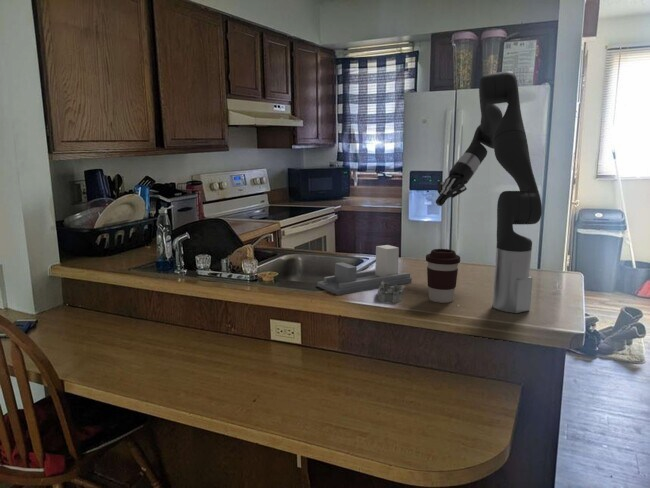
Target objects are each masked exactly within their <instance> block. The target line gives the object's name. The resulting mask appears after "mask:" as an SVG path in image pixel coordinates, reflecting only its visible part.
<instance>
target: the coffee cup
mask: <svg viewBox="0 0 650 488" xmlns="http://www.w3.org/2000/svg"><path fill="white" fill-rule="evenodd" d="M425 261H426V262H427V267H426V271H427V272H426V273H427V274H426V275H427V287H428V299H429V300H430V301H431V302H434V303H440V304H441V303H442V304H446V303H452V302H453V301H454V297H455V290H456V289H455V288H456V287H457V281H458V272H459V268H458V265H459V263H460V262H461V256H460V255H458V254H457V253H456V251H455V250H453V249H448V248H435V249H432V250H431V251H430V253H426V255H425Z"/></svg>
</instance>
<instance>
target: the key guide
mask: <svg viewBox="0 0 650 488" xmlns="http://www.w3.org/2000/svg"><path fill="white" fill-rule="evenodd" d="M375 271H376V269H371V270H364V271H358V272H357V273H356V281H352V282H344V283H338V282H336V281H335V275H331V276H330V275H329V276H324V277H323V280H321V281H317V282H316V283H317V287H318V288H320V289H322V290H325V291H327V292H329V293H331V294H334V295H336V296H341V295H346V294H352V293H357V292H363V291H369V290H375V289H379V287H380V285H381V282H382V281H384V282H385V283H389V284H390V287H394V285H396V286H399V285H405V284H410V283H412V280H413V279H412V277H411V273H410V272H403V273H398V274H395V275H388V276H382V277H380V276H377V275H375Z"/></svg>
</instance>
